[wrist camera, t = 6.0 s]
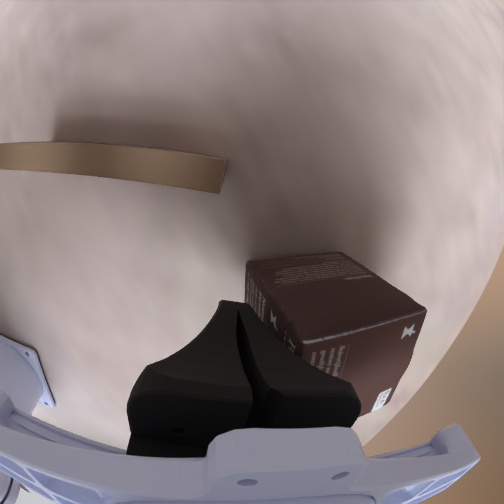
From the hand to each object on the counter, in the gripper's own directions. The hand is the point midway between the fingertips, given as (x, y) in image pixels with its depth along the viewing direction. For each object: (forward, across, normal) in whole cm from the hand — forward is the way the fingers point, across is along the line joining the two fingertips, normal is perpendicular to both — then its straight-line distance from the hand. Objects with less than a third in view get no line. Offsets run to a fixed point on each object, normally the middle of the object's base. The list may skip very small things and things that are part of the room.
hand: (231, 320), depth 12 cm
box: (+4, -4, +1) cm, 6 cm away
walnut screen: (+4, +7, -6) cm, 10 cm away
